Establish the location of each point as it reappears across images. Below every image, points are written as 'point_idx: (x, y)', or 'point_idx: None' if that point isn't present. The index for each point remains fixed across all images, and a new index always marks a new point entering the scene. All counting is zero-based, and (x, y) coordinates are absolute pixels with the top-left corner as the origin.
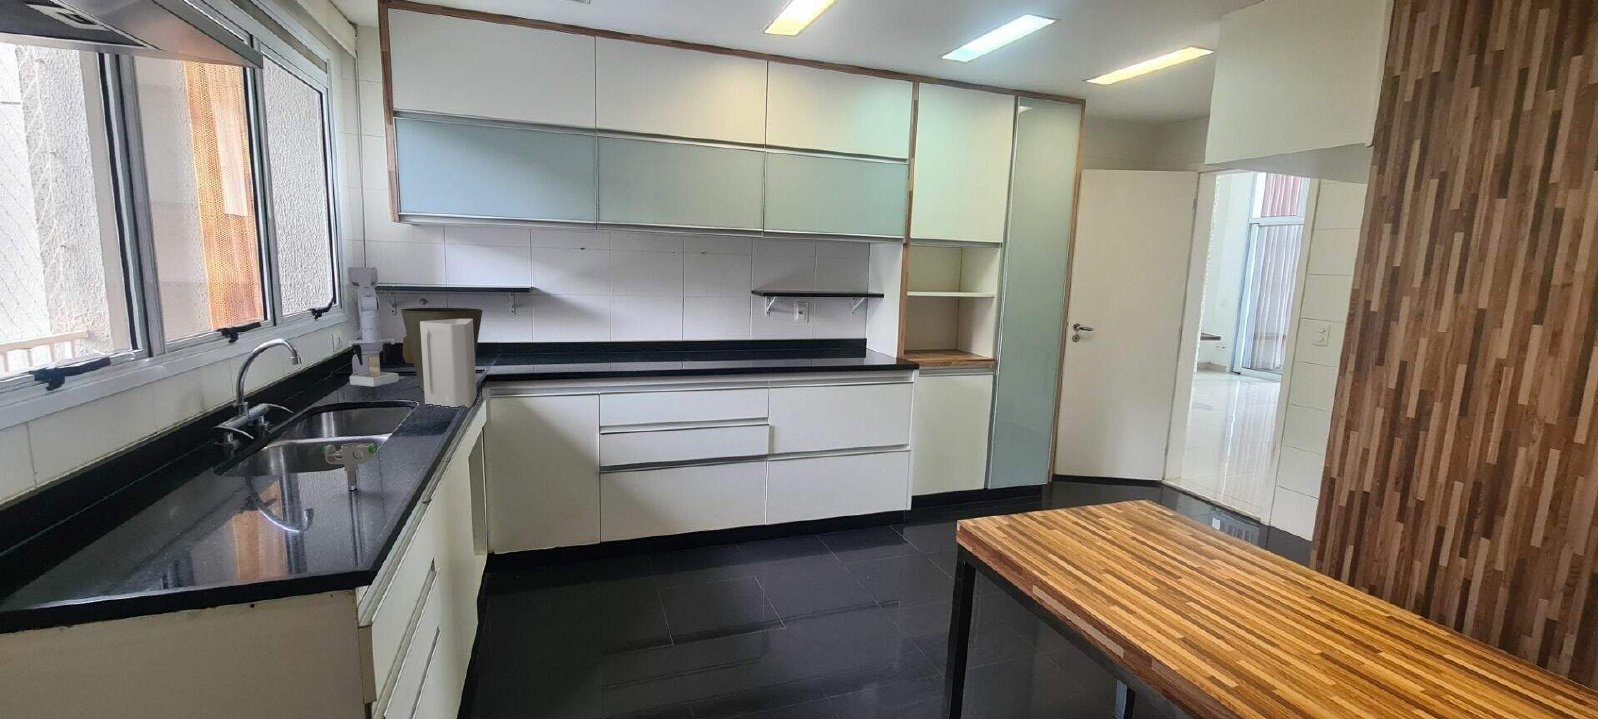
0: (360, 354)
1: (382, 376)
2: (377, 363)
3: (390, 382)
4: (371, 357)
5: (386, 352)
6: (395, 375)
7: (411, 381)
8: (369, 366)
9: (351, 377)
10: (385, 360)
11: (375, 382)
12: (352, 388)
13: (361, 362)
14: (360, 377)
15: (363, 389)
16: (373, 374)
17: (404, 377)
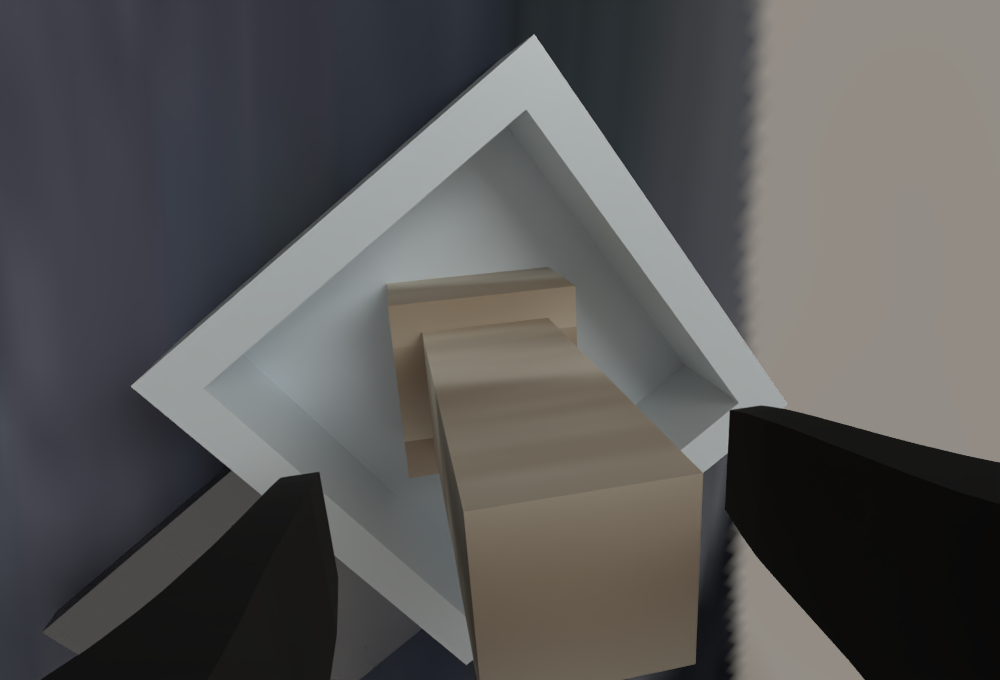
0: (985, 484)
1: (384, 166)
2: (467, 420)
3: (283, 249)
4: (636, 484)
5: (167, 646)
6: (183, 338)
7: (20, 430)
8: (607, 381)
9: (762, 373)
10: (284, 498)
11: (489, 71)
12: (708, 229)
13: (788, 415)
14: (683, 256)
15: (615, 88)
16: (511, 332)
17: (117, 616)
